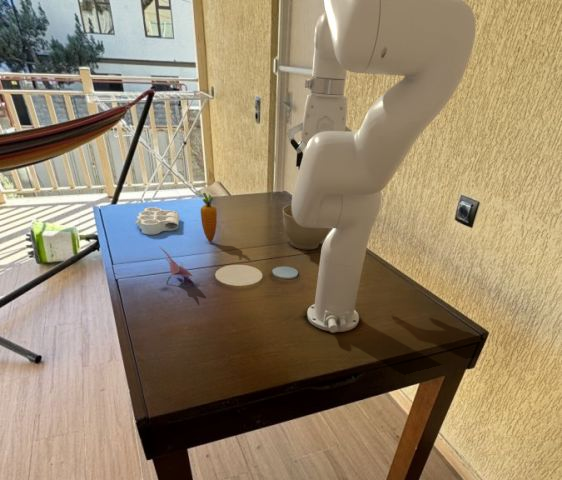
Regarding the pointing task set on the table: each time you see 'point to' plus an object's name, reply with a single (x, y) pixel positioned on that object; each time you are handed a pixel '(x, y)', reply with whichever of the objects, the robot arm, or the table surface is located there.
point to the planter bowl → (302, 232)
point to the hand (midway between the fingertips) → (318, 171)
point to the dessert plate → (238, 275)
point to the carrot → (208, 218)
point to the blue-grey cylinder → (285, 272)
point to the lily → (177, 269)
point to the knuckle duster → (157, 220)
